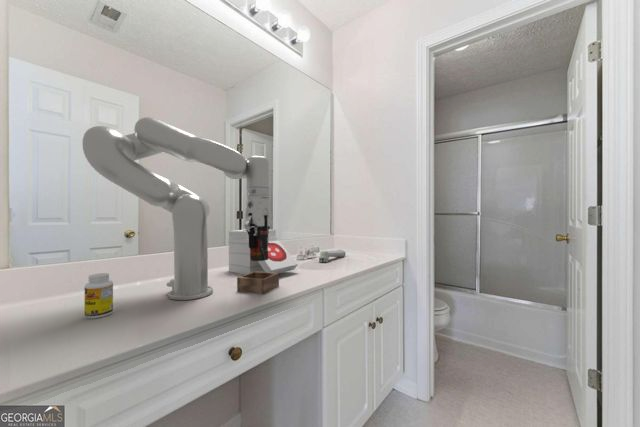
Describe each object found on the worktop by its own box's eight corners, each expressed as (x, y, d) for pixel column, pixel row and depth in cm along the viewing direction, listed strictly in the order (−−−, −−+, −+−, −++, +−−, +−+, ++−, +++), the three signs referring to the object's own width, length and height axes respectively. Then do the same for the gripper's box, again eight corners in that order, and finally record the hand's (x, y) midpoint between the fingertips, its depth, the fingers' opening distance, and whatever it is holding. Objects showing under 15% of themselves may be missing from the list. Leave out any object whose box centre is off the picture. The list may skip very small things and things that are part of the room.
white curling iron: (346, 250, 158) (325, 249, 137) (346, 261, 158) (324, 262, 137) (338, 249, 161) (316, 248, 140) (338, 261, 160) (316, 261, 139)
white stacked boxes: (267, 281, 101) (267, 233, 101) (222, 271, 120) (222, 230, 120) (301, 272, 116) (301, 230, 116) (256, 264, 135) (256, 228, 135)
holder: (237, 291, 88) (237, 277, 88) (253, 283, 98) (253, 271, 98) (264, 294, 85) (264, 279, 85) (278, 285, 94) (278, 273, 94)
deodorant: (248, 258, 93) (248, 215, 93) (266, 257, 95) (265, 215, 95) (251, 261, 87) (251, 215, 87) (269, 260, 90) (269, 215, 90)
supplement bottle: (79, 317, 66) (79, 276, 66) (104, 310, 72) (104, 271, 72) (93, 320, 64) (93, 278, 64) (118, 312, 69) (117, 273, 70)
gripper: (254, 191, 82) (254, 250, 82) (279, 194, 98) (280, 244, 98) (233, 192, 84) (233, 249, 84) (261, 195, 101) (262, 243, 101)
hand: (258, 246), depth 91 cm, fingers closed on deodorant, 5 cm apart
